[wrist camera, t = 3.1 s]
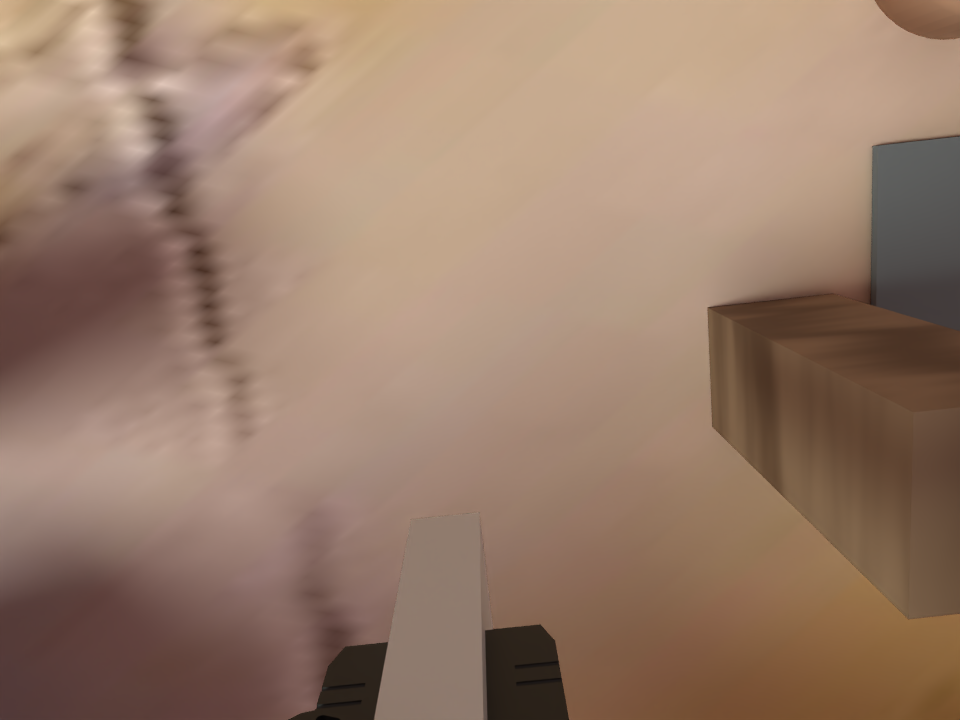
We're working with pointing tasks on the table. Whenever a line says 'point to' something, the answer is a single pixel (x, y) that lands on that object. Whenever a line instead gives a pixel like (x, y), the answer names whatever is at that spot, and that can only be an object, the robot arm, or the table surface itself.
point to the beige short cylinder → (925, 17)
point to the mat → (917, 230)
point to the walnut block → (851, 432)
